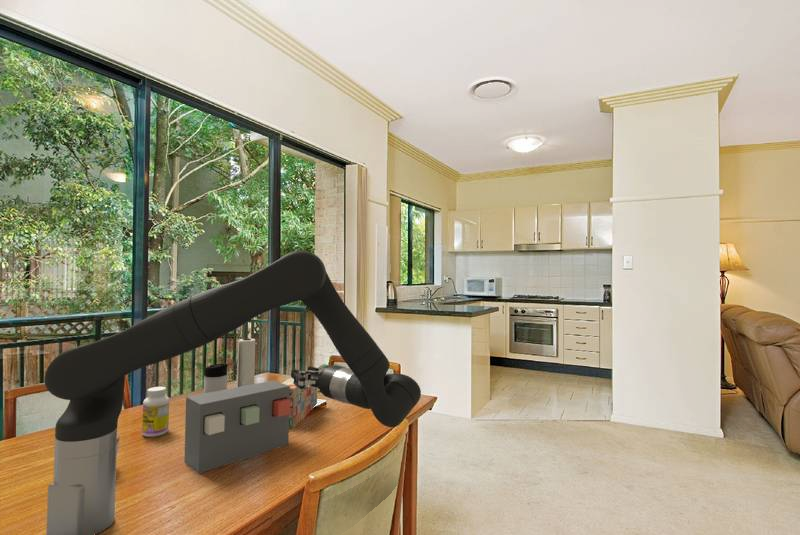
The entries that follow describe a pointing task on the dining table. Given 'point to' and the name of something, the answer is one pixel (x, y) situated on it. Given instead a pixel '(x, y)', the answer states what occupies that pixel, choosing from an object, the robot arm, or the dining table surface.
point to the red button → (281, 407)
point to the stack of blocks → (300, 401)
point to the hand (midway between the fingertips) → (300, 371)
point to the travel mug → (215, 378)
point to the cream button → (214, 423)
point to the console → (234, 425)
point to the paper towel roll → (246, 362)
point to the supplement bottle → (155, 412)
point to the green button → (249, 415)
